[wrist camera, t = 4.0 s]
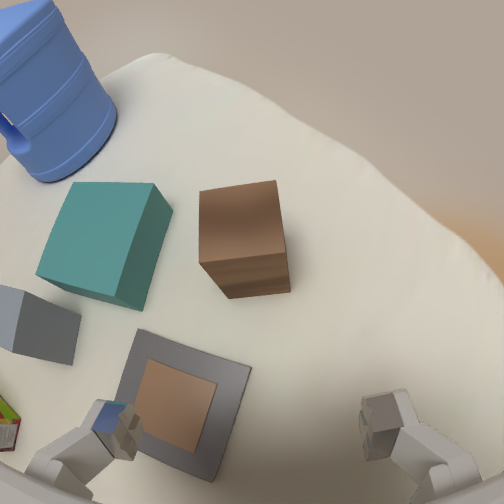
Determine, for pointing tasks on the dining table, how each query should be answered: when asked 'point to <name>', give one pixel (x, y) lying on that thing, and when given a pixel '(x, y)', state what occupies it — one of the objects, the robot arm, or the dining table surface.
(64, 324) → the slate grey block
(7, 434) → the snack box
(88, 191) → the teal base block
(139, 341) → the card
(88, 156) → the water jug
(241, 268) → the walnut block
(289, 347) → the dining table surface
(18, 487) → the robot arm
